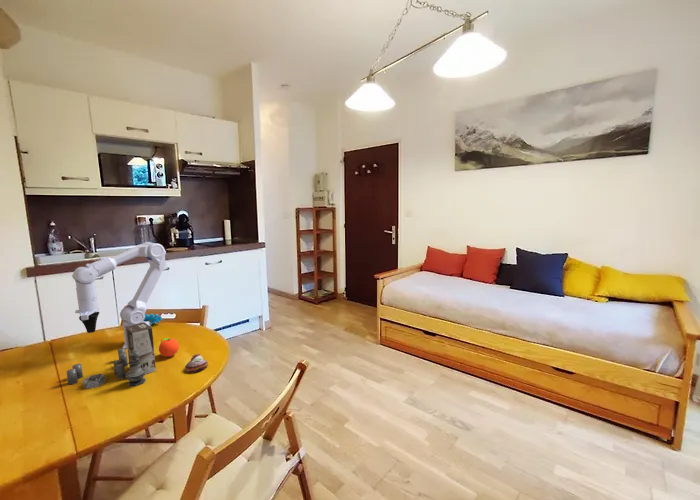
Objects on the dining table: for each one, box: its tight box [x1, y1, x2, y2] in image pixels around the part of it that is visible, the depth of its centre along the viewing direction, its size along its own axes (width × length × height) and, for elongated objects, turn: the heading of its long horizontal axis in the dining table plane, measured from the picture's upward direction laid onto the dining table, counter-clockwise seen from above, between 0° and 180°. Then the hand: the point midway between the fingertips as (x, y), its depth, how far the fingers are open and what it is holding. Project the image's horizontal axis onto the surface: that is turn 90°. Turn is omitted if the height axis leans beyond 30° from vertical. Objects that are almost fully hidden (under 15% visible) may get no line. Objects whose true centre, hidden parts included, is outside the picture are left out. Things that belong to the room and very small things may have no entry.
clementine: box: [158, 337, 180, 358], centre depth 128 cm, size 8×7×7 cm
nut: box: [82, 373, 107, 390], centre depth 109 cm, size 6×5×2 cm
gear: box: [144, 313, 163, 327], centre depth 157 cm, size 11×6×10 cm
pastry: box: [184, 353, 209, 374], centre depth 119 cm, size 8×8×5 cm
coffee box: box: [125, 322, 157, 375], centre depth 117 cm, size 9×6×16 cm
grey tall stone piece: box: [125, 349, 147, 388], centre depth 109 cm, size 6×6×12 cm
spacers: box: [66, 347, 129, 386], centre depth 116 cm, size 16×17×4 cm
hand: (91, 332), depth 127 cm, fingers closed
